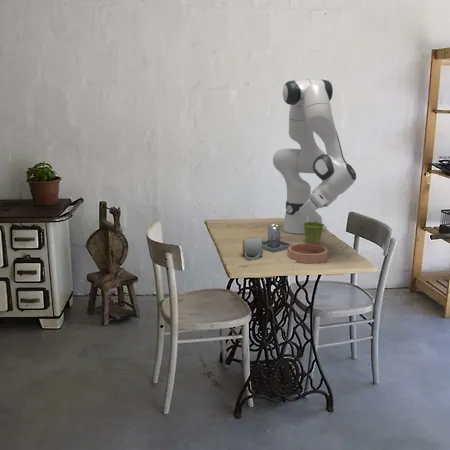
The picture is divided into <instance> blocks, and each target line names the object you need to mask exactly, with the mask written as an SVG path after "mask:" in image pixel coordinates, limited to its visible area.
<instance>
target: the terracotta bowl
mask: <svg viewBox="0 0 450 450" xmlns="http://www.w3.org/2000/svg"><path fill="white" fill-rule="evenodd" d="M286 252H287V257H288V258H289V259H291V260H293V261H296V262H295V263H300V262H302V264H308V263H309V264H320V263H323V262H327V260H328V259H329V248H327V247H326V246H324V245H320V244H309V243H296V244H295V243H294V245H291V246H289V247H288V249H287V250H286Z"/></svg>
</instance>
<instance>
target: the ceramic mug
mask: <svg viewBox="0 0 450 450" xmlns="http://www.w3.org/2000/svg"><path fill="white" fill-rule="evenodd" d="M263 241H264V239H263V238H262V237H256V238H244V239H243V240H242V255H243V257H244V258H245V259H246V260H247V261H252V262H253V260H258V259H259V258H261V257H263V254H264V250H263Z"/></svg>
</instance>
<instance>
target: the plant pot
mask: <svg viewBox="0 0 450 450" xmlns="http://www.w3.org/2000/svg"><path fill="white" fill-rule="evenodd" d="M324 225H325V224H324V223H323V222H322V223H318V222H305V223H303V226H304V230H305V234H304V239H305V244H307V243H308V244H317V245H319V244H320V243H321V237H322V232H323V230H322V229H323V227H324Z"/></svg>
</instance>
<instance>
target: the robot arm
mask: <svg viewBox="0 0 450 450" xmlns="http://www.w3.org/2000/svg"><path fill="white" fill-rule="evenodd" d="M333 92H334V90H333V85H332V83H331V82H330V81H329V80H328V79H327V80H326V79H314V78H310V79H299V80H293V79H292V80H289V81H287V82H285V84H284V85H283V89H282V99H283V101H284V102H285V104H286V105H290V108H289V112H288V113H289V114H288V135H289V137H290V139H292V140H293V141H294V142H296V143H297V144H299V147H300V148H282V149H278V150H277V151H275V153H274V155H273V157H272V163H273V166H274V168H275V169H276V170H277V171H278V172H279V173H280V174H281V175H282V177H283V178H284V181H285V184H286V202H285V213H284V220H283V221H284V222H283V224H282V231H283V232H285V233H290V234H297V235H298V234H299V235H301V234H302V235H303V234H304V235H305V230H304V226H303V223H305V222H318V223H322V224H323V219H322V216H321V214H319V213H318V212H317V211H316V210H318V209H322V208H327V207H329V206H330V205H331V204H332V203H333V202H334V201H336V200H337V198H338V197H339V196H340V195H342V194H343V193H345V192H346V191H347V190H348V189H350V187H351V186H353V184H354V183H355V182H356V180H357V173H356V171H355V169H354V168H353V167H352V166H351V164H349V163H348V162H347V160H346V159H345V157H344V154H343V150H342V146H341V142H340V138H339V135H338V131H337V128H336V125H335V122H334V121H335V120H334V117H333V112H332V107H331V102H330V101H331V100H332V98H333V94H334V93H333ZM314 133H315V134H316V135H317V136H318V137H319V138H320V139H321V141H322V142H323V144H324V146H325V151H323V150H322V149H321V148H320V146H318V144H317V142H316V140H315V135H314ZM325 152H326V153H325ZM300 173H302V174H311V175H312V174H315V175H316V176H317V177H318V178H319V179H320V180H321V183H320V184H318V185H317V186H316V187H315V188H314V189H313V190H312V189H311V187H312V186H311V185H310V183H309V182H308V181H306V180H304V179H303V178H302V177H301V176H300ZM327 229H328V226H326V225H325V224H324V227H323V229H322V231H324V230H327Z"/></svg>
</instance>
